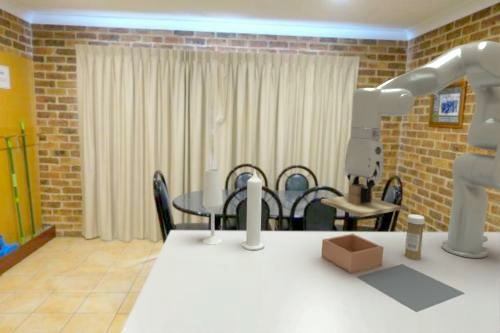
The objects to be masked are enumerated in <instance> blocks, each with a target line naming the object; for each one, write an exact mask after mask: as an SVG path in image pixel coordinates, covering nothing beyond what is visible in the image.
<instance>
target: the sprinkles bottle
mask: <svg viewBox="0 0 500 333" xmlns="http://www.w3.org/2000/svg"><path fill="white" fill-rule="evenodd" d="M425 220H426V218H425V216H424V215H421V214H413V213H411V214H408V215H407V221H406V222H407V226H406V227H407V229H406V235H405V236H406V237H405V249H404V255H403V256H404V258H406V259H409V260H410V261H411V260H412V261H420V260H421V258H422V257H421V256H422V255H421V254H422V246H423V235H424V234H423V232H424V225H425Z"/></svg>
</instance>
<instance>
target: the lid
mask: <svg viewBox="0 0 500 333" xmlns="http://www.w3.org/2000/svg"><path fill="white" fill-rule="evenodd" d="M361 188H363V183H359V184H354V185H350V184H349V185H348V195H344V196H336V197H330V198H329V197H327V198H321V200H320V202H321V204H324V205H326V206H329V207H333V208H335V209H338V210H340V211H343V212H346V213H349V214H351V215H353V216H356V217H359V218H362V217H368V216H373V215H380V214H384V213H391V212H397V211H401V206H400V205H398V204H394V203H391V202H387V201H384V200H380V199H376V198H373V193H374V192H373V191H374V187H373V188H371V197H370V202H365V203H362V202H361Z"/></svg>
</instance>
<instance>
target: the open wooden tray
mask: <svg viewBox="0 0 500 333" xmlns="http://www.w3.org/2000/svg"><path fill="white" fill-rule="evenodd" d="M321 242H322V244H321V256H320V257H321V258H322V259H324V260H326V261H327V262H330V263H331V264H333V265H334V266H336V267H338V268H339V269H342V270H344V271H345V272H347V273H348V274H354V273H355V274H356V273H358V272H362V271H366V270H370V269H373V268H377V267H382V266H383V256H384V246H382V245H379V244H377V243H375V242H373V241H370V240H369V239H366V238H365V237H362V236H360V235H356V234H355V233H350V234H349V233H348V234H344V235H339V236H333V237H328V238H324V239H322V241H321Z"/></svg>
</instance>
